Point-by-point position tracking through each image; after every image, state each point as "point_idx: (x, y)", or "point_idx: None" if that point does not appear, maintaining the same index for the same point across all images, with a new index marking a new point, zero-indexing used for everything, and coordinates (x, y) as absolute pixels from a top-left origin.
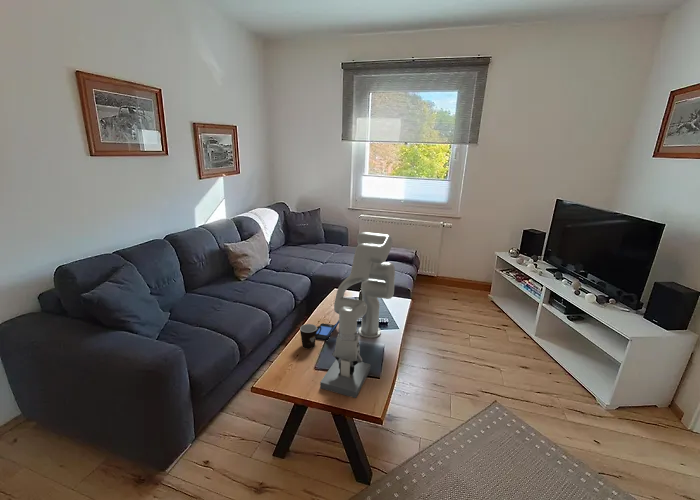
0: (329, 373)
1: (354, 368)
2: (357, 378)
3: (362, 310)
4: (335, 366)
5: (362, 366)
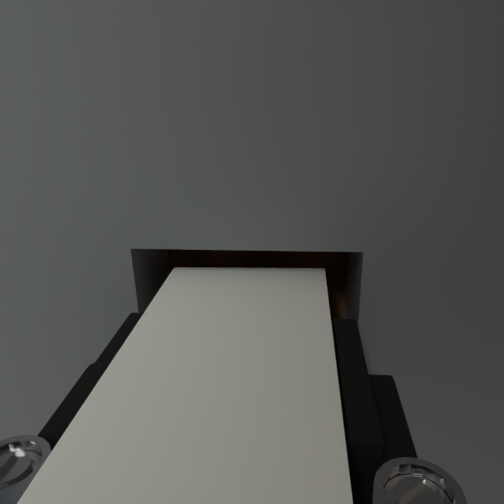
0: (28, 434)
1: (343, 194)
2: (465, 416)
3: None
4: (5, 266)
5: (499, 55)
